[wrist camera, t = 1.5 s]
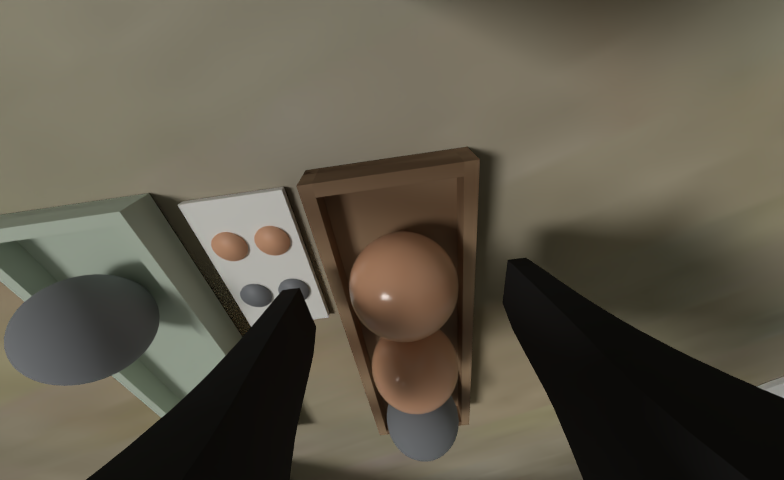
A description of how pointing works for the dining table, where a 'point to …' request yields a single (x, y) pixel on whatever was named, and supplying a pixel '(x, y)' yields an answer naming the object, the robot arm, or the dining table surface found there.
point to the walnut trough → (395, 214)
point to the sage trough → (168, 272)
